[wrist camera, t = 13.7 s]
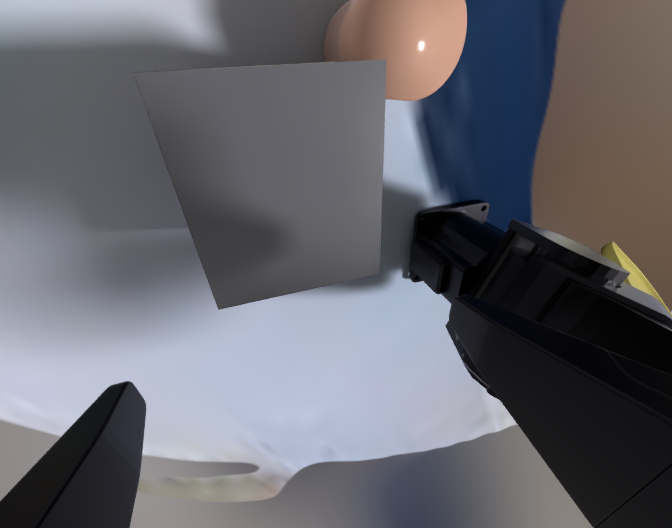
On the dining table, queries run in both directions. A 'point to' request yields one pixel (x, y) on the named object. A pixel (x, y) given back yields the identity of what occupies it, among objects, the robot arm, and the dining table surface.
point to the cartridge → (401, 41)
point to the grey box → (275, 171)
